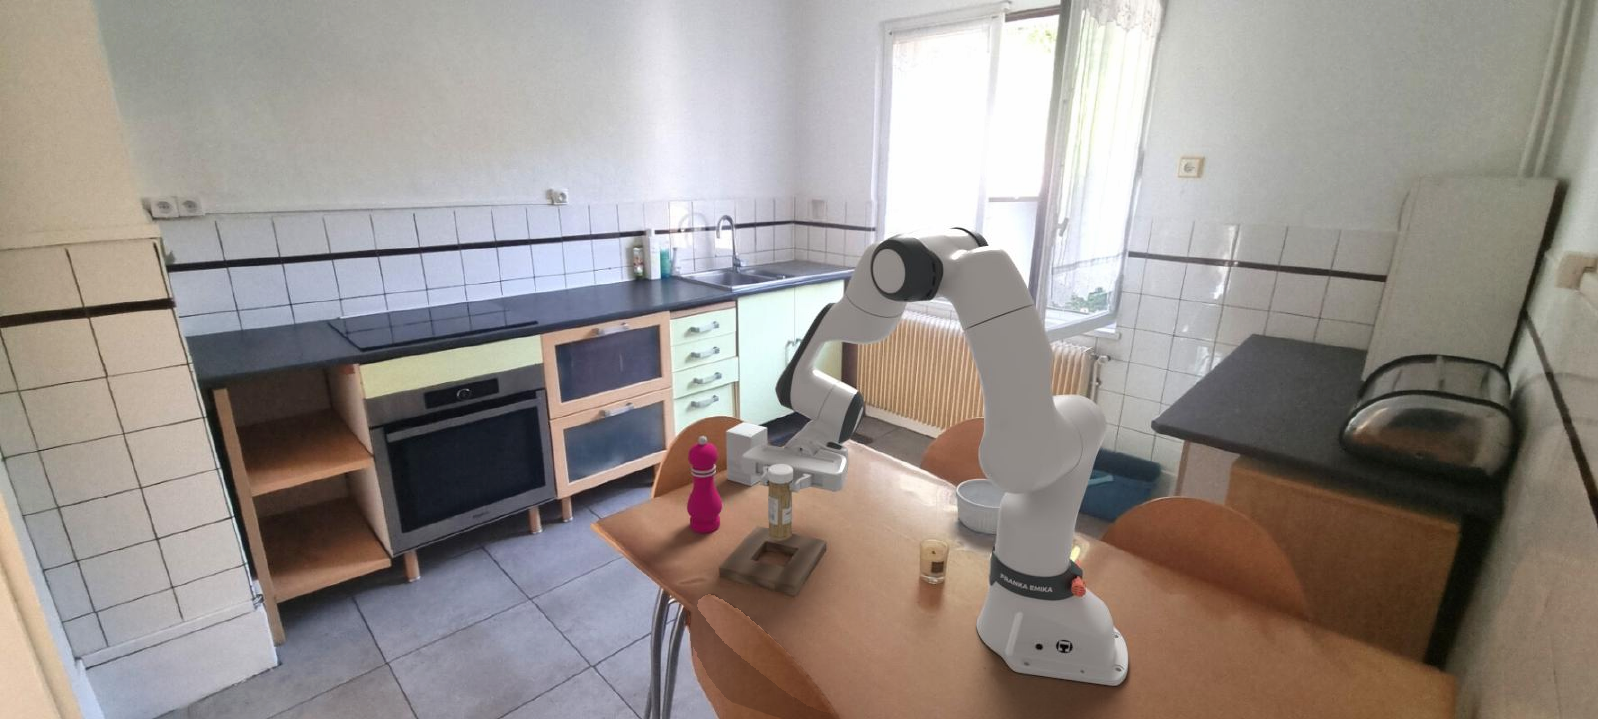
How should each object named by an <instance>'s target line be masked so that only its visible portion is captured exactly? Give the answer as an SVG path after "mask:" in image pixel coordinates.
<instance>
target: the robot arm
mask: <svg viewBox="0 0 1598 719" xmlns="http://www.w3.org/2000/svg"><path fill="white" fill-rule="evenodd" d="M935 298H936V299H937V298H944V299H945V300H948V302H950V304H952V306H953V308H954V311H955V313H956V314H957V317H958V321H959V323H960V326H961V329H962V331H963V335H964V337H965V340H966V342H967V346H968V348H969V350H970V353H971V357H972V360H973V362H974V366H975V368H976V371H977V374H978V377H979V381H980V386H981V393H982V402H983V415H984V416H983V418H984V421H983V426H984V427H983V433H982V436H981V441H980V443H979V446H978V456H977V457H978V462H979V466H980V468H981V471H982V473H983V475H984V476H985V479H988V480H989V481H990V482H991V483H992V484H993V485H994V486H995V487H997V488H998V489H1000V490H1002V491H1004V492H1006V493H1005V495H1004V497H1003V498H1002V501H1001V503H1000V507H999V514H998V524H997V534H995V544H994V545H993V547H992V551H991V553H990V556H989V557H990V559H989V568H988V578H989V579H988V582H989V586H988V590H987V594H986V598H985V601H984V604H983V607H982V610H981V611H980V614H979V615H978V617H977V619H976V620H977V621H976V629H977V633H978V635H979V637H980V638H981V640H982V641H983V643H984V644H985V645H986V646H987V647H989V648H990V649H991V650H992V651H993V652H995V653H997V655H998V656H1000V657H1002V659H1003V660H1004V661H1005V663H1006V665H1008V667H1009V668H1010V669H1011V670H1012V671H1014V672H1016V673H1018V674H1019V673H1020V674H1025V675H1033V676H1041V677H1047V678H1055V679H1063V680H1070V681H1076V682H1083V683H1090V684H1098V685H1106V686H1112V687H1113V686H1116V687H1117V686H1119V685H1120V684H1121V683H1122V682H1123V681H1124V680H1125V679H1126V677H1127V675H1128V670H1129V653H1128V652H1129V651H1128V647H1127V644H1126V641H1125V639H1124V637H1123V636H1122V634H1121V633H1120V631H1119V630H1118V629H1117V628H1116V627H1115V625H1114V622H1113V618H1112V615H1111V613H1110V612H1111V611H1110V610H1109V608H1108V606H1107V605H1106V604H1105V602H1104V601H1103V600H1101V599H1100V597H1098V596H1097V595H1095V594H1094V593H1093V592H1092V591H1091V590H1089V589H1088V588H1087V587H1086V586H1087V585H1086V584H1087V583H1086V581H1084V580H1083V574H1084V571H1083V569H1082V568H1081V562H1080V559H1079V558H1078V559H1077V560H1076V562H1075V561H1073V559H1071V556H1072V551H1073V550H1072V548H1073V542H1074V535H1075V529H1076V523H1077V520H1078V519H1077V518H1078V513H1079V510H1080V508H1081V505H1082V503H1083V499H1084V497H1085V493H1086V491H1087V488H1088V485H1089V481H1090V478H1091V476H1092V471H1093V468H1094V465H1095V461H1096V457H1097V455H1098V452H1099V450H1100V448H1101V446H1102V444H1103V442H1104V440H1105V438H1106V435H1107V429H1108V424H1107V419H1106V417H1105V414H1104V412H1103V411H1102V409H1101V408H1100V406H1099V405H1098V404H1097V403H1095V402H1094V401H1093V400H1091V399H1090V398H1088V397H1086V396H1083V395H1081V394H1058V395H1054V394H1053V393H1054V392H1053V386H1052V385H1053V384H1052V367H1053V363H1054V351H1053V348H1052V345H1051V342H1050V340H1049V338H1048V336H1047V335H1048V334H1047V332H1046V329H1045V328H1044V325H1043V323H1042V319H1041V317H1040V314H1039V312H1038V309H1037V307H1036V305H1035V302H1034V299H1033V297H1032V295H1031V293H1030V291H1029V288H1028V286H1027V283H1026V282H1025V280H1024V278H1023V276H1022V274H1021V272H1020V271H1019V269H1018V268H1017V266H1016V264H1015V263H1014V261H1013V259H1012V258H1011V257H1010V255H1009V254H1008V253H1007V252H1006V251H1005V250H1004V249H1002V248H999V247H997V246H989V244H988V242H987V239H985V237H984V236H983V235H982V234H980V233H979V232H977V231H975V230H973V229H971V228H966V227H960V226H959V227H958V226H957V227H956V226H955V227H950V228H925V229H920V230H916V231H911V232H907V233H899V234H896V235H895V234H894V235H893V236H891V237H888V238H887V239H885V240H884V239H883V240H877V241H875V242H873V243H871V244H869V246H867V248H866V249H865V250H864V252H863V253H862V255H861V256H860V259H859V261H858V263H857V264H856V266H855V268H854V271H853V272H852V275H851V276H850V279H849V282H848V284H847V287H846V290H845V292H844V294H843V296H842V297H841V299H840V300H838V301H837V302H829V303H827V304H826V305H825V306H823V308H822V309H821V310H820V311H819V313H818V314H817V315H816V316H815V318H814V319H813V321H812V323H811V324H810V326H809V328H808V329H807V331H806V332H805V335H804V336H803V338H802V339H801V341H800V343H799V345H798V346H797V349H796V351H795V353H794V355H793V356H792V357H791V360H790V361H789V363H788V365H787V366H786V367H785V369H784V370H783V371H782V372H781V374H780V375H779V377H778V379H777V381H776V385H775V389H774V392H775V393H776V397H777V400H778V403H779V404H780V406H782V407H784V408H787V409H789V410H791V411H794V412H798V413H799V414H801V415H803V416H805V418H808V419H810V421H809V422H807V423H806V424H805V425H804V426H803V428H802V429H800V430H799V431H798V432H797V433H796V434H794V436H792V438H790V439H789V440H788V441H787V443H785V445H784V446H783V447H782V446H781V447H780V446H777V445H776V446H775V445H770V444H767V445H758V446H756V447H754V448H752V449H750V450H749V451H747V452H746V453H744V454H743V455H742V460H741V466H742V471H743V472H744V473H745V474H750V475H755V476H760V477H761V478H760V481H759V482H760V483H759V484H760V486H762V487H763V486H764V487H769V481H768V468H769V467H770V466H772V465H775V464H785V465H789V466H791V467H792V469H793V479H792V481H791V482H790V484H789V487H790V488H789V491H792V493H799V491H800V490H803V489H808V488H815V489H819V490H824V491H830V492H835V493H836V492H840V491H842V490H843V489H844V487H845V485H846V483H847V476H848V471H849V460H850V459H849V448H848V447H846V446H844V444H845V442H848V441H849V440H850V439H852V437H853V436H854V434H855V433H856V431H857V429H858V428H859V426H860V423H861V422H862V419H863V417H864V413H865V408H866V407H865V401H864V397H863V394H862V393H861V391H860V390H858V389H857V388H855V387H852V386H851V385H850V384H848V383H846V382H843V381H841V380H838V379H837V378H834V377H833V376H830V375H829V374H827V373H825V372H823V371H821V370H819V369H818V368H817V367H816V365H815V364H814V362H815V361H816V360H817V357H818V356H819V354H820V352H821V351H822V349H823V347H824V346H825V344H826V343H828V342H829V343H831V342H839V343H841V342H842V343H849V344H854V345H871V344H876V343H880V342H881V341H884V340H885V339H887V338H889V337H890V336H891V335H892V334H893V333H894V331H895V330H896V328H897V327H898V324H899V323H900V321H901V319H902V317H903V315H904V312H905V309H906V308H907V307H906V306H907V304H908V303H914V302H915V303H916V302H929V301H930V302H931V301H932V300H934V299H935Z"/></svg>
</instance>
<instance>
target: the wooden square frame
mask: <svg viewBox="0 0 1598 719" xmlns="http://www.w3.org/2000/svg"><path fill="white" fill-rule="evenodd" d="M768 531H769V527H763V526H759V525H756V526H755V527H754V529H752V531H751V532H749V534H748V535H747V536H746V537H745V538H744V539H743V540H742V541H741V542H740V544H739V545H738V546H737V547H736V548H735V549H734V550H733V552H731V553H730V555H728V556H727V558H726V559H725V560H724V561H723V562H722V563H721V564H720V566H718V567H719V568H718V571H719V572H718V574H719V575H718V576H719V577H720V578H723V579H726V580H727V579H728V580H730V581H735V582H739V583H742V584H746V585H750V586H755V587H758V588H762V589H765V590H769V591H773V592H777V593H781V594H784V595H789V596H793V597H796V596H797V594H798V593H799V591H800V590H801V588H802V587H803V586H804V584H805V583H806V582H807V580H808V578H809V576H810V575H811V574H812V572H813V571H814V569H815V568H816V567H817V565H818V563H819V562H820V560H821V559H822V558H823V557H824V554H825V553H826V551H827V541H826V540H822V539H818V538H813V537H809V536H804V535H800V534H795V533H792V536H791V537H790V538H789V539H786V540H781V541H779V540H774V539H772V538H770V537H769V535H768ZM765 551H769V552H773V553H778V554H782V555H785V556H790V557H791V558H790V559H789V561H788V562H787V564H786V565H785V567H784V566H779V565H775V564H771V563H768V562H763V561H758V560H759V559H760V557H761V556H762V555H763V554H764V553H765Z"/></svg>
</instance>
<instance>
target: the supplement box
mask: <svg viewBox="0 0 1598 719" xmlns="http://www.w3.org/2000/svg"><path fill="white" fill-rule="evenodd" d="M725 443H726V444H725V446H726V448H725V449H726V450H725V451H726V477H727V480H729V481H731V482H736V483H740V484H741V485H742V484H743V485H746V486H749V487H752V486H754V485H755V484H757V483H758V482H760V478H761V477H760V476H755V475H750V474H745V473H744V472H743V471H742V466H741V460H742V455H743V454H744V453H746V452H747V451H749V450H750V449H752V448H754V447H756V446H758V445H768V427H766V426H762V425H757V424H753V423H749V422H745V421H743V422H741V423H738V424H737V425H735V426H733V427H731V428H729V429H727V430H726V431H725Z"/></svg>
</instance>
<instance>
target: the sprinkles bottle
mask: <svg viewBox="0 0 1598 719" xmlns="http://www.w3.org/2000/svg"><path fill="white" fill-rule="evenodd" d="M792 479H793V469H792V467H791V466H789V465H785V464H775V465H772V466H770V467H769V468H768V481H769V486H768V494H767V495H768V496H767V499H768V500H767V507H768V509H767V510H768V511H767V512H768V513H767V514H768V515H767V516H768V517H767V518H768V528H769V531H768V535H769V537H770V538H772V539H774V540H779V541H781V540H786V539H789V538H790V537H791V536H792V534H793V530H792V527H793V524H792V523H793V521H792V519H793V495H792V494H793V492H792V491H789V488H790V487H789V484H790V482H791V481H792Z"/></svg>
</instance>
